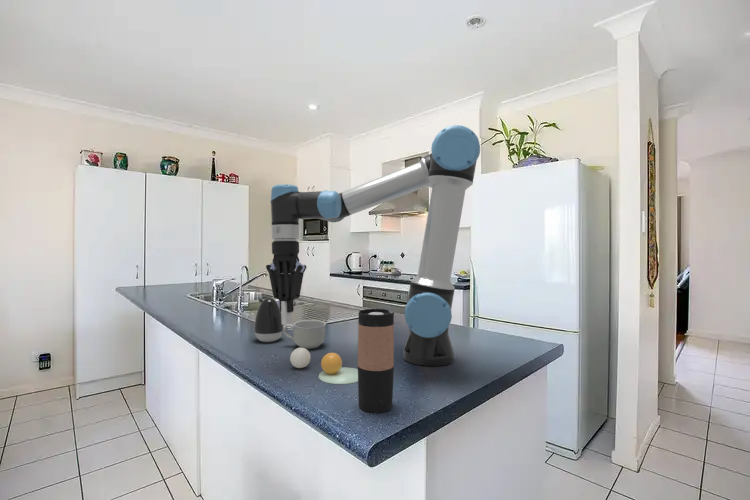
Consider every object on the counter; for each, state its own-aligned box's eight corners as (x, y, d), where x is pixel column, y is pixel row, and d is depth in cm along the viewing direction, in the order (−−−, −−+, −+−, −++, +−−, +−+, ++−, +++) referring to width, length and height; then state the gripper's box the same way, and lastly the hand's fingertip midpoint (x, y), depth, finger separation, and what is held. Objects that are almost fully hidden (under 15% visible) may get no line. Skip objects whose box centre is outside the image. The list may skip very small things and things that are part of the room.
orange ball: (327, 367, 103) (344, 373, 100) (315, 373, 98) (332, 379, 95) (330, 347, 102) (347, 353, 100) (318, 352, 97) (335, 359, 95)
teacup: (328, 342, 130) (329, 320, 130) (321, 351, 119) (321, 326, 119) (289, 341, 131) (290, 318, 131) (279, 350, 120) (279, 325, 120)
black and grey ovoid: (270, 335, 140) (271, 295, 139) (289, 339, 133) (289, 297, 133) (247, 341, 131) (247, 298, 131) (266, 345, 125) (266, 300, 125)
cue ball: (296, 349, 107) (303, 367, 106) (283, 354, 103) (290, 373, 101) (309, 342, 105) (317, 360, 104) (296, 347, 100) (304, 366, 99)
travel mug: (351, 410, 77) (352, 313, 77) (365, 396, 84) (366, 307, 84) (386, 416, 74) (387, 316, 74) (398, 401, 81) (398, 310, 81)
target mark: (372, 372, 100) (372, 371, 100) (349, 387, 89) (349, 386, 89) (335, 365, 105) (335, 364, 105) (309, 379, 95) (309, 378, 95)
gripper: (258, 240, 105) (259, 324, 105) (295, 239, 99) (296, 328, 99) (276, 240, 112) (278, 319, 112) (312, 240, 106) (313, 323, 106)
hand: (286, 323), depth 106 cm, fingers closed
